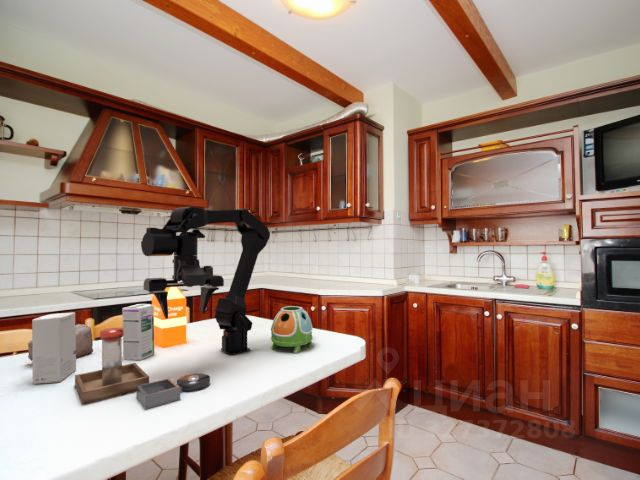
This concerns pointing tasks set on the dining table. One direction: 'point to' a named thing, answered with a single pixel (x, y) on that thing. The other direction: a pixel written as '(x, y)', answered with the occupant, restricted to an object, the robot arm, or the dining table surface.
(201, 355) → the dining table surface
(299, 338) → the turtle holder
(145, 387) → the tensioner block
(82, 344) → the food item
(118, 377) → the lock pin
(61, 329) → the skincare box
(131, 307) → the syrup box
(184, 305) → the orange juice
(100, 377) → the tray
